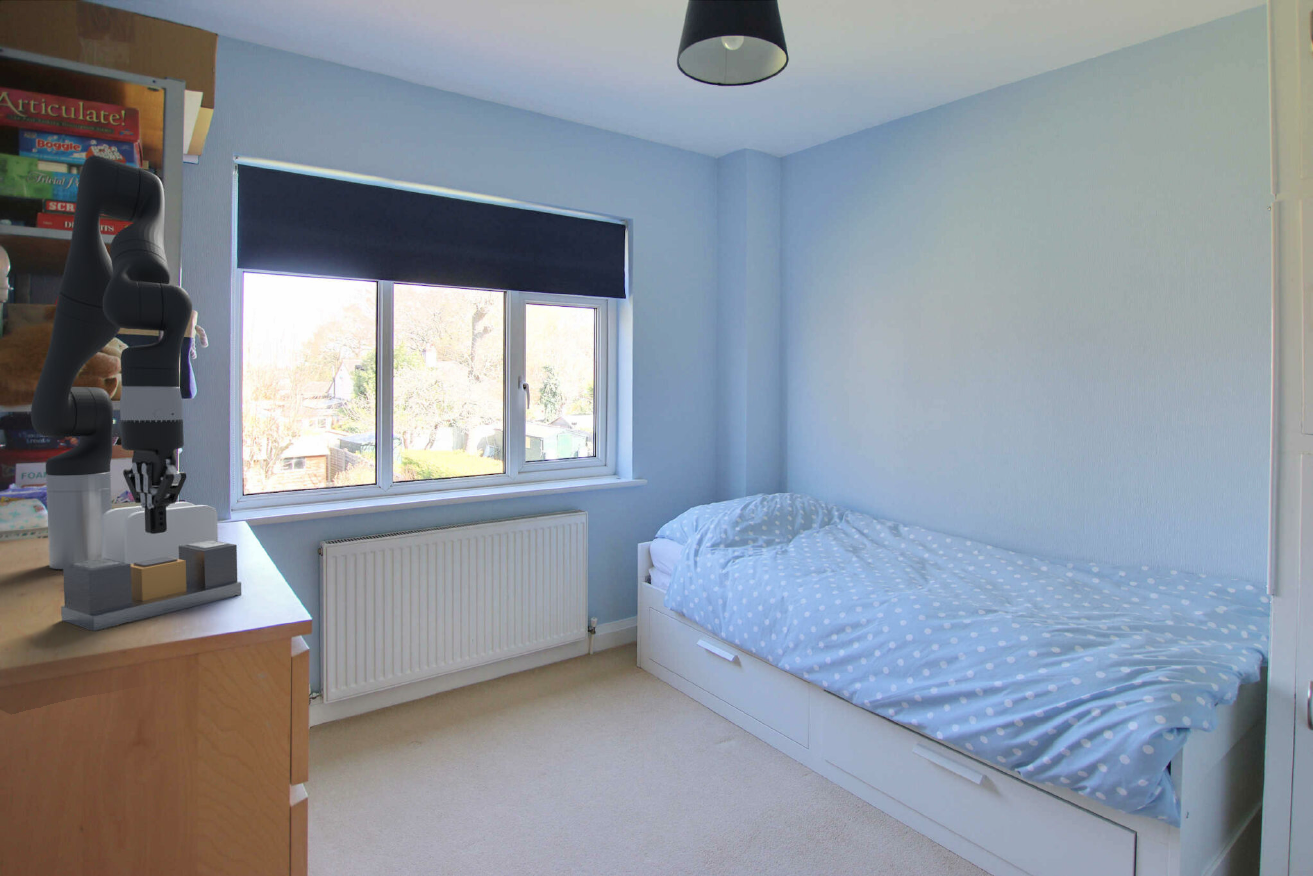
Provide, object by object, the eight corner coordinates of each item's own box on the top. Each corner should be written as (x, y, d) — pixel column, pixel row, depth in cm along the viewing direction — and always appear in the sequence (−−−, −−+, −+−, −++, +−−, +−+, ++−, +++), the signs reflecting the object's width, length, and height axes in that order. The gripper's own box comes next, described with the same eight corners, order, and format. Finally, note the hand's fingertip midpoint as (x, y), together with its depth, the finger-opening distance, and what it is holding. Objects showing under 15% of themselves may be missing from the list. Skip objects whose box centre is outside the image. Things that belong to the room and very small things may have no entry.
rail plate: (61, 620, 97) (59, 563, 96) (208, 586, 115) (207, 538, 114) (94, 631, 93) (92, 571, 92) (241, 594, 111) (240, 544, 110)
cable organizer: (122, 582, 117) (120, 514, 117) (101, 572, 123) (99, 508, 123) (219, 565, 130) (217, 504, 129) (195, 557, 136) (193, 499, 135)
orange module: (169, 586, 107) (168, 555, 107) (186, 590, 105) (185, 558, 105) (125, 596, 102) (124, 563, 102) (142, 600, 100) (141, 566, 100)
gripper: (204, 417, 102) (207, 532, 103) (155, 416, 109) (159, 524, 109) (148, 418, 96) (152, 541, 97) (99, 417, 102) (103, 532, 103)
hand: (156, 532), depth 103 cm, fingers closed
